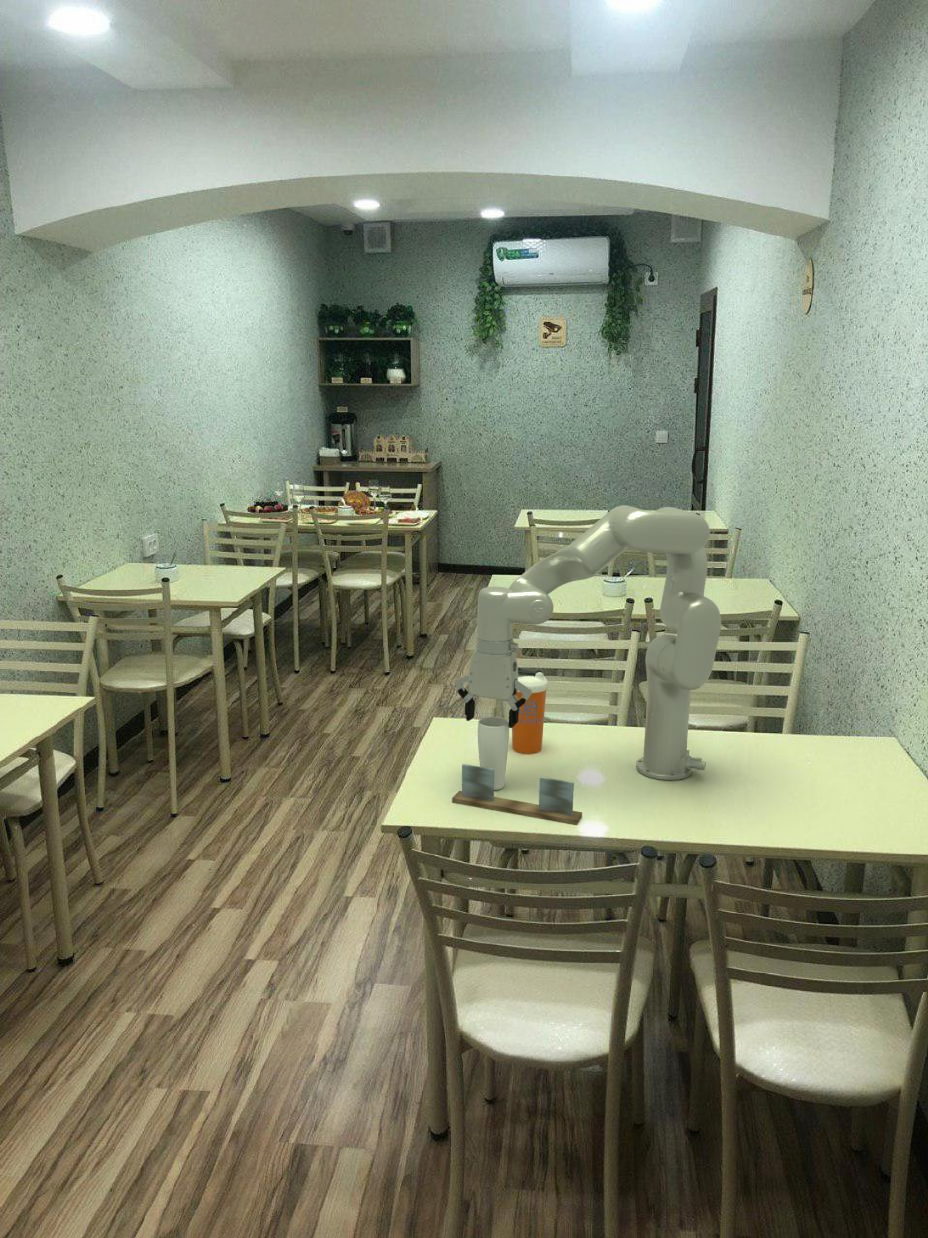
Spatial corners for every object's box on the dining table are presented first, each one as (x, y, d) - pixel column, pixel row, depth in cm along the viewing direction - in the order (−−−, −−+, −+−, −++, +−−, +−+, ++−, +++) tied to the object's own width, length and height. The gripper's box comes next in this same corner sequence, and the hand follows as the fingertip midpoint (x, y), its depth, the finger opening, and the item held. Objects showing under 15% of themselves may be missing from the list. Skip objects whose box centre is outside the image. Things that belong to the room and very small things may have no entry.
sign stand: (581, 816, 191) (583, 780, 189) (576, 825, 187) (578, 787, 186) (459, 795, 201) (459, 760, 199) (452, 802, 197) (452, 766, 195)
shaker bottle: (506, 742, 231) (507, 664, 226) (541, 741, 232) (543, 663, 227) (511, 756, 222) (513, 675, 217) (548, 755, 223) (551, 674, 218)
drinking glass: (505, 794, 202) (506, 728, 198) (474, 791, 203) (475, 725, 199) (510, 781, 208) (511, 717, 204) (480, 779, 209) (481, 715, 206)
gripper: (538, 646, 198) (534, 723, 202) (462, 636, 204) (460, 711, 208) (527, 655, 191) (523, 734, 195) (449, 644, 197) (447, 721, 201)
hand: (491, 722), depth 202 cm, fingers open, 9 cm apart
